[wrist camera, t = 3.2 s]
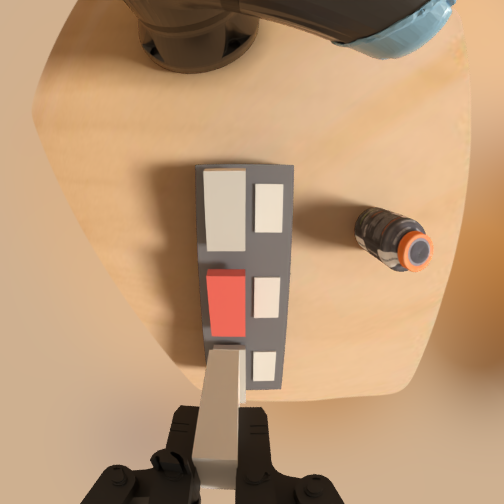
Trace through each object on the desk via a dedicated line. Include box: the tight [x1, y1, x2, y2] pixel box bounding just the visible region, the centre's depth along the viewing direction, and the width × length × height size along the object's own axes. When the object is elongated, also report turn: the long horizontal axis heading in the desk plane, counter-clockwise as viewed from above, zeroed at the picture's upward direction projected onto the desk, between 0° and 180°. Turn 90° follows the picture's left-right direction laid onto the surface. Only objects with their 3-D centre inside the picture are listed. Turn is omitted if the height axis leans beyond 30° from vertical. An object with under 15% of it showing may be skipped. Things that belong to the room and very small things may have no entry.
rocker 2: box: [213, 345, 246, 403], centre depth 33 cm, size 8×4×1 cm, turn 179°
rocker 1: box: [203, 168, 246, 251], centre depth 27 cm, size 8×4×1 cm, turn 0°
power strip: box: [195, 164, 294, 390], centre depth 34 cm, size 29×10×6 cm, turn 0°
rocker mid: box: [206, 269, 245, 337], centre depth 30 cm, size 8×4×1 cm, turn 0°
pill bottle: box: [355, 208, 433, 272], centre depth 30 cm, size 6×6×11 cm
